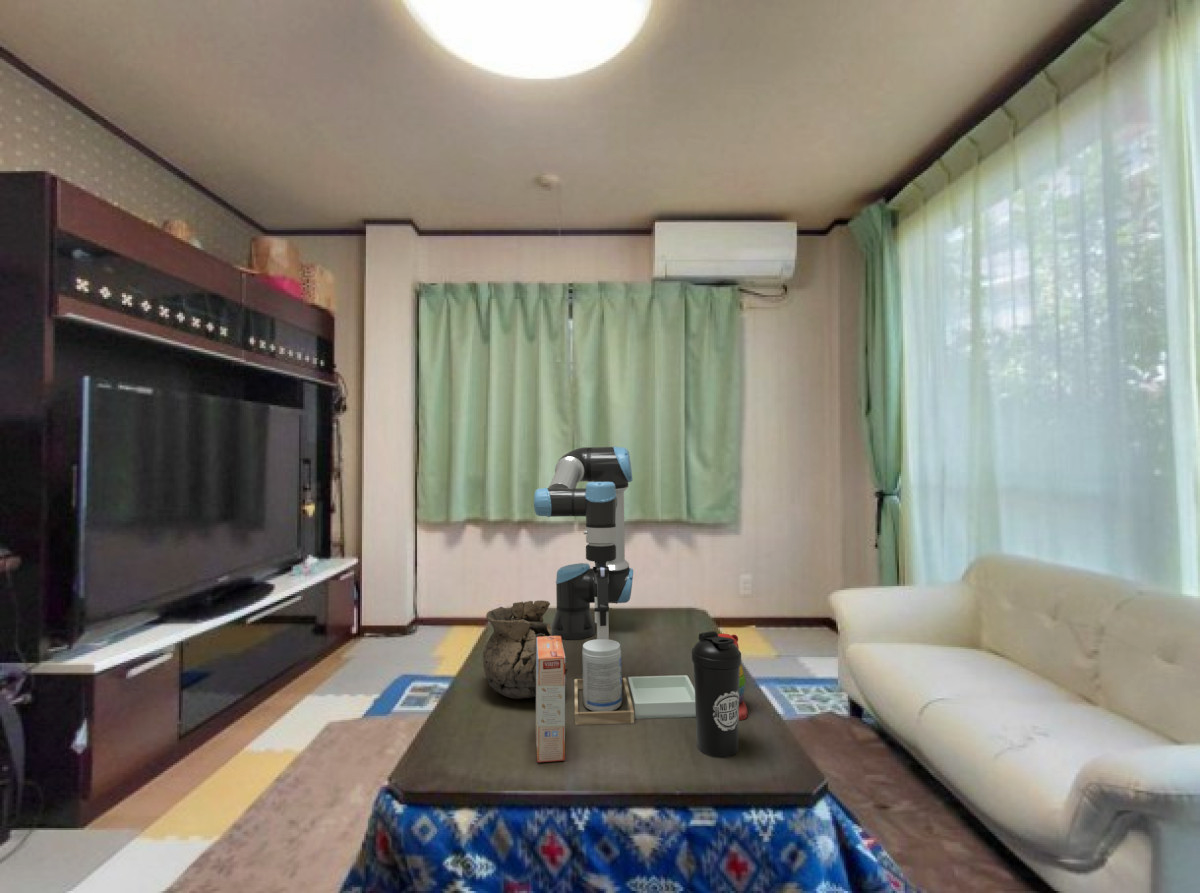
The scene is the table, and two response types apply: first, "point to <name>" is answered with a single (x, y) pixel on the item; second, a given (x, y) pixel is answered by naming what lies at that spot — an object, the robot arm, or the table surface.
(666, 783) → the table surface
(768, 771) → the table surface
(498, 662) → the clay pot
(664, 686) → the pale mint square tray
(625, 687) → the oak frame
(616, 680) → the supplement tub
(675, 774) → the table surface
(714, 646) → the water bottle
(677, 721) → the table surface
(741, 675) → the stacking bear
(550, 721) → the cracker box
